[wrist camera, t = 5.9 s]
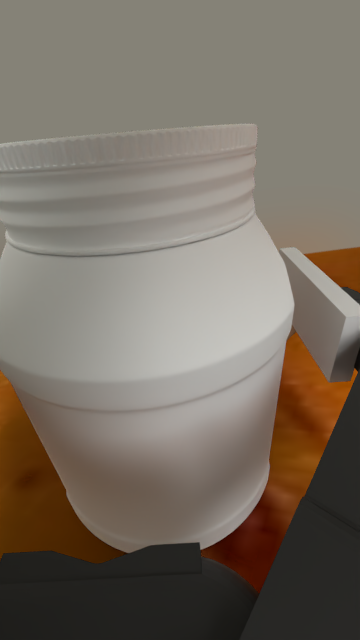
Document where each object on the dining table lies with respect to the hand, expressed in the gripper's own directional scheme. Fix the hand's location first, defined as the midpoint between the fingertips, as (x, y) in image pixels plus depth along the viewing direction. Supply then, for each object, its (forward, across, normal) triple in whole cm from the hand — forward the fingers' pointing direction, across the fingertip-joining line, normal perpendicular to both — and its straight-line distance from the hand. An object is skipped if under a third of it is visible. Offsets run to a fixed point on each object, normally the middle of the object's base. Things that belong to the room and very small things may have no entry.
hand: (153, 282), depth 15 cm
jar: (-3, 0, -9) cm, 9 cm away
